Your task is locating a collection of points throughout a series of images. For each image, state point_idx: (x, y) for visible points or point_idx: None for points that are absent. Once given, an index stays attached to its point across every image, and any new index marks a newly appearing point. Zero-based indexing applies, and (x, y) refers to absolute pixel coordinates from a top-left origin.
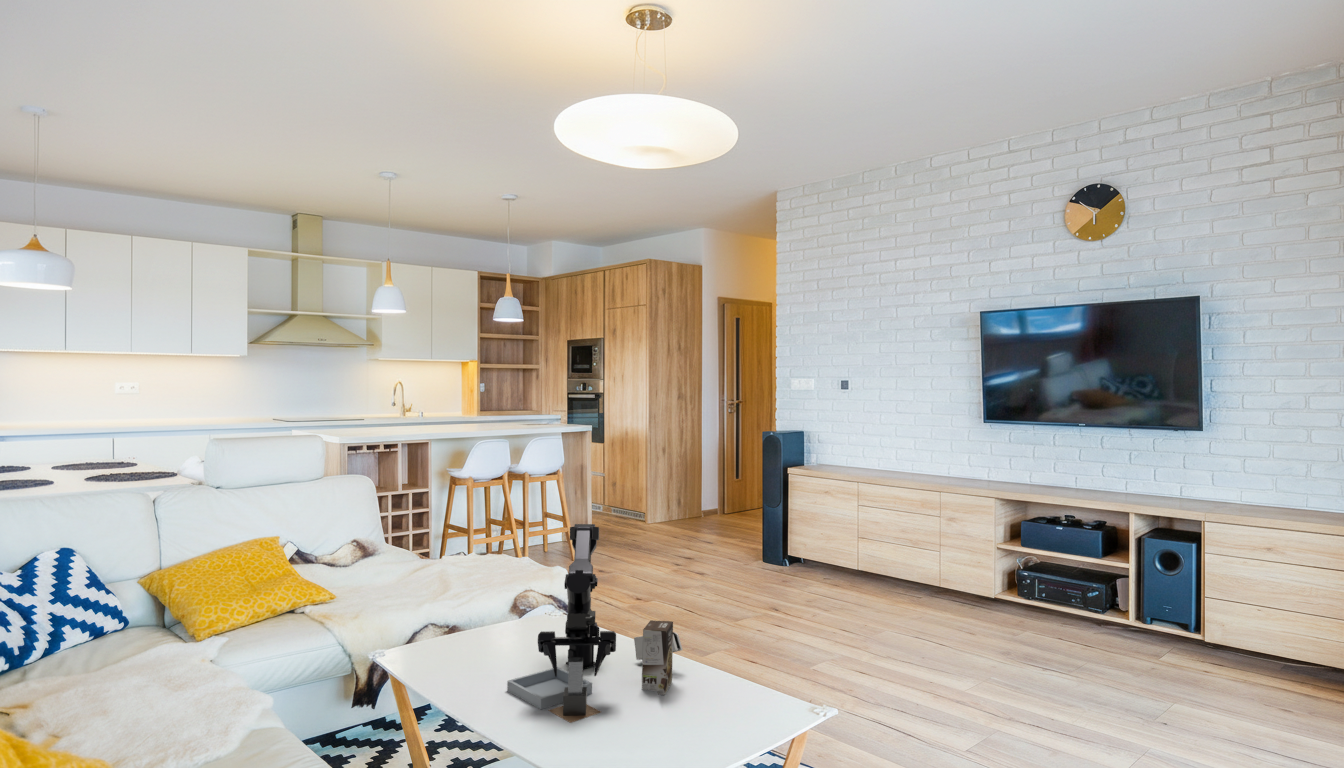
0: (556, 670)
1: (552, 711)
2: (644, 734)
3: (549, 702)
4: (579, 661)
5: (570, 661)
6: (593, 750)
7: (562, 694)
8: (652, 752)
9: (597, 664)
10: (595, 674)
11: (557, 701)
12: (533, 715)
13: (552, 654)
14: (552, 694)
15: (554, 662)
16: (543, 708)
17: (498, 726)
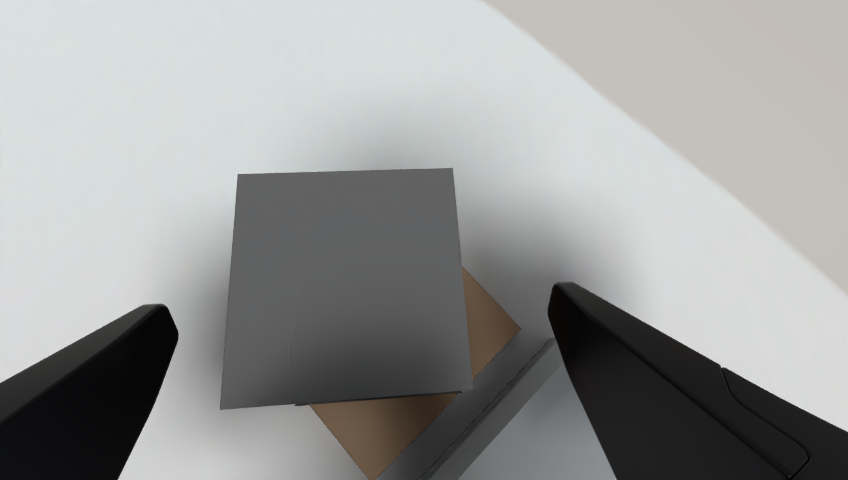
0: (576, 297)
1: (496, 313)
2: (68, 135)
3: (532, 377)
4: (285, 193)
5: (428, 198)
6: (291, 23)
7: (474, 453)
8: (71, 3)
9: (42, 367)
10: (154, 305)
11: (492, 417)
12: None
13: (811, 438)
14: (534, 411)
15: (661, 345)
16: (549, 350)
17: (685, 206)
